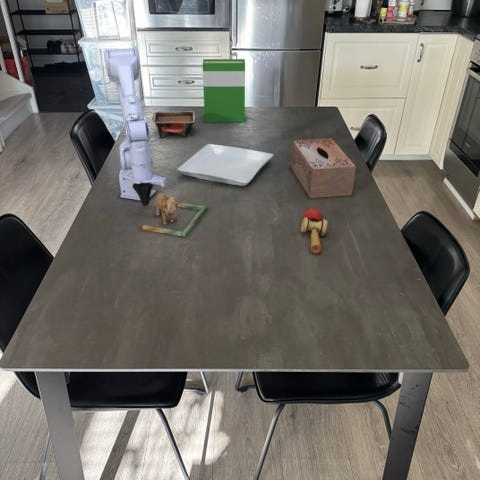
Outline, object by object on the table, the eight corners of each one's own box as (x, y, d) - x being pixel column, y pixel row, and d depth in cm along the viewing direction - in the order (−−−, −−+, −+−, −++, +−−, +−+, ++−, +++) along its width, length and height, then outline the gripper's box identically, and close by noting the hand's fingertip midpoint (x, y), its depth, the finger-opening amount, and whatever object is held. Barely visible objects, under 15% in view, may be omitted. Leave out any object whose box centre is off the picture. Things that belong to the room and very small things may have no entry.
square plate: (176, 179, 189) (175, 168, 186) (208, 152, 208) (208, 142, 206) (247, 192, 181) (247, 181, 178) (274, 162, 200) (274, 152, 198)
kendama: (331, 257, 151) (326, 219, 163) (330, 239, 146) (324, 201, 159) (304, 260, 152) (300, 222, 164) (302, 243, 148) (298, 205, 160)
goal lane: (142, 229, 160) (142, 226, 160) (167, 203, 174) (167, 200, 173) (184, 236, 157) (184, 233, 156) (206, 209, 171) (206, 206, 170)
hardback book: (204, 122, 235) (202, 63, 220) (205, 116, 241) (203, 59, 226) (244, 122, 236) (245, 63, 221) (244, 116, 241) (244, 59, 226)
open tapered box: (192, 144, 220) (195, 119, 214) (149, 137, 218) (150, 112, 213) (195, 134, 232) (197, 111, 226) (153, 128, 230) (155, 104, 225)
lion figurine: (184, 224, 163) (182, 197, 157) (168, 229, 160) (166, 202, 155) (162, 206, 172) (159, 180, 167) (147, 210, 170) (144, 184, 164)
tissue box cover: (290, 167, 197) (292, 140, 191) (328, 164, 199) (331, 138, 193) (310, 198, 177) (312, 169, 171) (351, 195, 179) (355, 166, 173)
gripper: (112, 164, 156) (118, 206, 164) (157, 170, 152) (161, 213, 161) (123, 155, 161) (129, 196, 170) (167, 161, 158) (171, 203, 166)
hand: (145, 204), depth 166 cm, fingers closed
